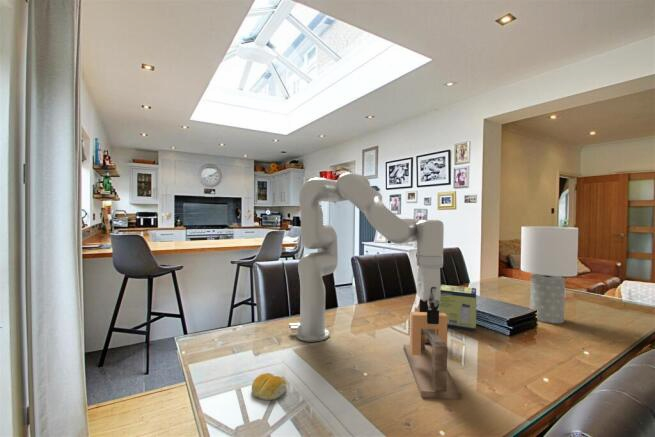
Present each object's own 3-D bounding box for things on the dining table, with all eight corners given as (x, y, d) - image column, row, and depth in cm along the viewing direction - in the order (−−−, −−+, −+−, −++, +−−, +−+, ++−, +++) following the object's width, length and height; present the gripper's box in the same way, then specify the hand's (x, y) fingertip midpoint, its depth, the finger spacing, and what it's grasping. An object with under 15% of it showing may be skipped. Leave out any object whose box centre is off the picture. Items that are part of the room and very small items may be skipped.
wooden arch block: (412, 355, 91) (412, 315, 91) (410, 350, 94) (410, 311, 94) (446, 356, 90) (447, 316, 90) (443, 352, 93) (444, 312, 93)
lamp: (539, 309, 152) (541, 226, 151) (587, 324, 133) (589, 228, 132) (509, 314, 145) (511, 226, 144) (554, 330, 125) (557, 228, 125)
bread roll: (266, 379, 87) (266, 365, 87) (291, 389, 82) (291, 374, 82) (244, 393, 80) (244, 378, 80) (269, 405, 75) (269, 389, 75)
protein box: (437, 318, 139) (438, 284, 138) (476, 324, 132) (476, 288, 132) (435, 325, 129) (435, 289, 129) (476, 332, 122) (476, 293, 122)
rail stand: (421, 396, 79) (421, 346, 79) (403, 348, 107) (404, 311, 107) (461, 399, 78) (462, 348, 78) (432, 350, 106) (433, 312, 106)
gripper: (411, 256, 101) (410, 308, 101) (423, 265, 84) (422, 328, 84) (434, 257, 100) (433, 309, 100) (451, 266, 83) (450, 329, 83)
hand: (428, 317), depth 92 cm, fingers open, 9 cm apart
